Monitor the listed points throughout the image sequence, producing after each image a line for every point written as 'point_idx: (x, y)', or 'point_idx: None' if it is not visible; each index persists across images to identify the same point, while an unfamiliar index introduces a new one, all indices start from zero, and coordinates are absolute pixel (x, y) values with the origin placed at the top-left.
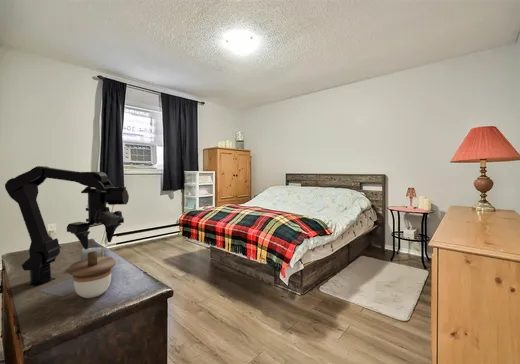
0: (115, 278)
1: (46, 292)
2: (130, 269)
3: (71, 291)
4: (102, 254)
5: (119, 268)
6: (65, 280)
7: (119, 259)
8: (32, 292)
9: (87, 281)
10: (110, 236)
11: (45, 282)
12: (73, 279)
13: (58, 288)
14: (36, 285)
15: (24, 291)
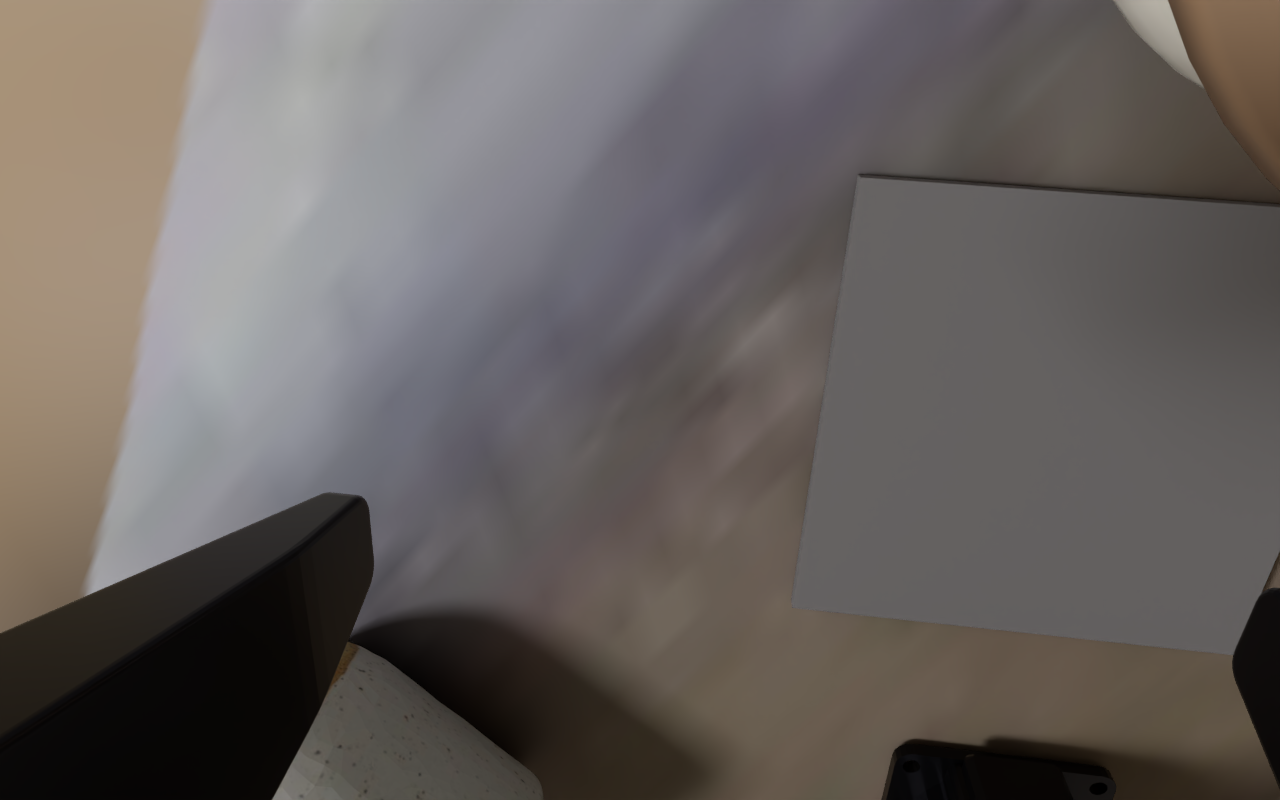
0: (668, 3)
1: (1277, 538)
2: (296, 60)
3: (1247, 250)
4: None
5: (346, 281)
6: (920, 618)
7: (122, 546)
8: (1235, 694)
9: None
10: (225, 620)
11: (1024, 760)
12: None
13: (1156, 501)
14: (1109, 779)
15: (1212, 781)
